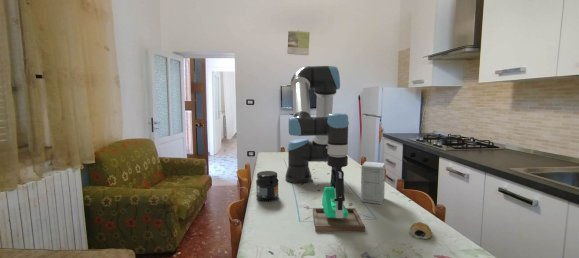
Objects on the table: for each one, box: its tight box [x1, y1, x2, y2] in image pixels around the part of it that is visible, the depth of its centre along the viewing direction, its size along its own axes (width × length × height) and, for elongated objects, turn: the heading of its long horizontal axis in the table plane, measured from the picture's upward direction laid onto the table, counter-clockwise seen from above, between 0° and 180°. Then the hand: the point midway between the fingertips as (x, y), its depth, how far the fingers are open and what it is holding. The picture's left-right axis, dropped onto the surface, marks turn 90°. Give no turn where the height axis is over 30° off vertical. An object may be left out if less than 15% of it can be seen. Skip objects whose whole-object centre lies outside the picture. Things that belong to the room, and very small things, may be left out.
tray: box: [312, 207, 366, 233], centre depth 108 cm, size 16×17×2 cm
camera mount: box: [321, 186, 348, 218], centre depth 107 cm, size 12×8×10 cm, turn 3°
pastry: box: [409, 221, 433, 240], centre depth 99 cm, size 9×7×4 cm
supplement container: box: [255, 170, 279, 202], centre depth 133 cm, size 10×10×12 cm
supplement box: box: [360, 161, 386, 205], centre depth 130 cm, size 10×9×17 cm
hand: (336, 210), depth 108 cm, fingers closed on camera mount, 12 cm apart
